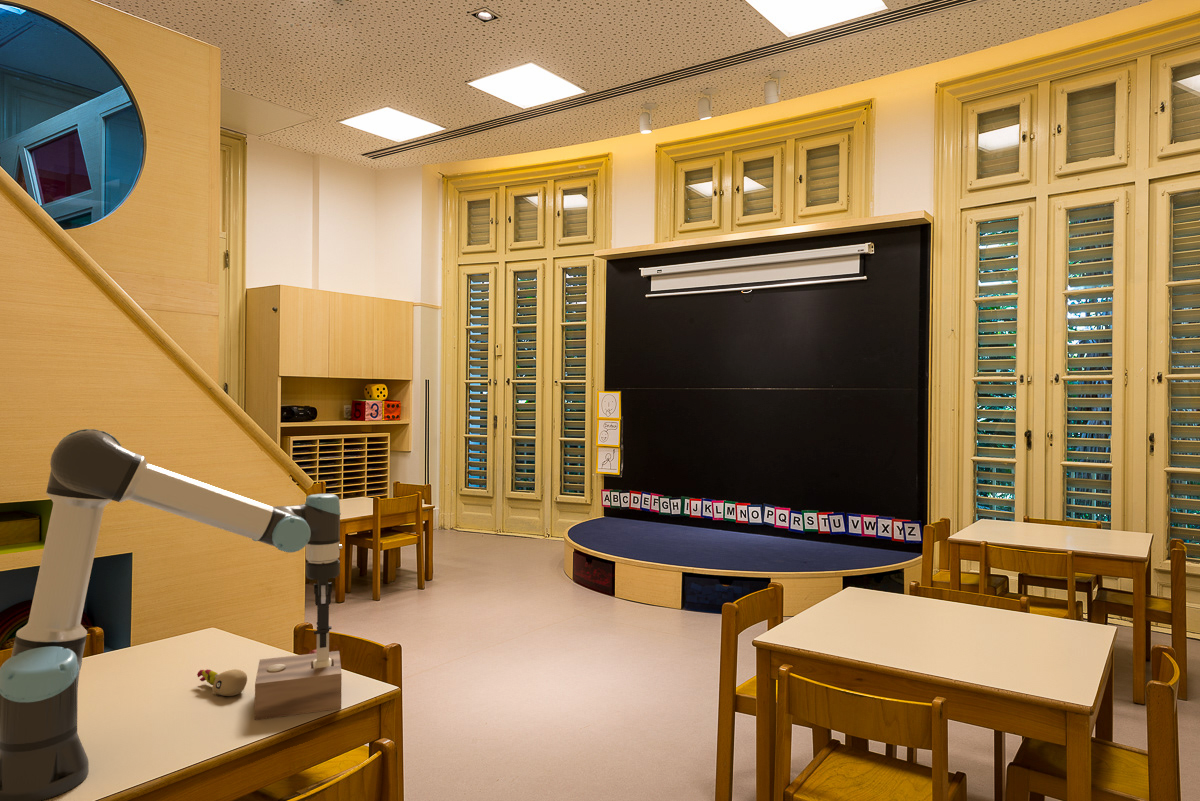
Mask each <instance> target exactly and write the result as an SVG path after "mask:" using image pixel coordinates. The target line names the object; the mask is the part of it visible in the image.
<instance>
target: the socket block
mask: <svg viewBox="0 0 1200 801" xmlns="http://www.w3.org/2000/svg"><path fill="white" fill-rule="evenodd" d="M329 658H331V666H330V667H321V668H313V661H314V660H315V659H317V653H314V654H308V653H307V654H298V655H290V656H289V655H288V656H280V657H279V656H278V657H271V658H261V659H259V660H258V666H257V672H256V678H255V681H254V721H258V720H263V719H264V720H266V719H273V718H281V717H285V716H294V715H295V716H296V715H302V714H311V713H317V712H324V711H332V710H339V709H342V681H343V680H342V678H343V677H342V676H343V675H342V664H341V655H340V650H335V651H334V650H333V651H332V652H331V651H329Z"/></svg>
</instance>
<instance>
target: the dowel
mask: <svg viewBox="0 0 1200 801" xmlns="http://www.w3.org/2000/svg"><path fill="white" fill-rule="evenodd" d="M330 666H331V658H329V660H323V661H317V659H315V660H314V661H313V668H321V667H330Z"/></svg>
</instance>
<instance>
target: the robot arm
mask: <svg viewBox="0 0 1200 801" xmlns="http://www.w3.org/2000/svg"><path fill="white" fill-rule="evenodd" d="M49 462H50V463H49V464H50V473H49V477H48V483H47V487H46V493H45V494H46V495H47V497H48V498H49V499H50V500H51V501H52V509H51V513H50V517H49V522H48V527H47V532H46V536H45V542H44V545H43V551H42V555H41V562H40V566H39V568H38V570H39V571H38V573H37V574H38V575H37V580H36V584H35V588H34V594H33V598H32V603H31V607H30V612H29V616H28V617H29V618H28V621H27V623H26V624H25V625H24V626H23V627H20V628H19V629H18V630H17V631H16V633H15V638H14V642H13V646H12V652H11V655H10V656H11V657H9V658H8V659H6V660H5V661H4V662H3V663H2V665H1V666H0V801H41V800H42V801H46V800H47V799H51V798H55V797H56V796H59V795H61V794H64V793H66V792H69V791H70V790H72V789H74V788H76V787H77V786H78V785H80V784H82V782H84V781H85V780H86V778H87V777H88V775H89V768H90V767H89V765H90V764H89V758H88V756H87V753H86V750H85V748H84V746H83V743H82V742H81V738H80V736H79V734H78V692H79V691H78V690H79V679H80V673H81V668H82V664H83V656H84V651H85V646H86V641H87V637H88V636H87V635H88V630H87V629H85V627H84V626H83V625H82V624H81V623H82V618H83V612H84V609H85V602H86V598H87V593H88V589H89V588H88V587H89V583H90V580H91V578H90V577H91V574H92V568H93V564H94V559H95V555H96V554H95V553H96V549H97V543H98V539H99V534H100V530H101V526H102V520H103V514H104V511H105V507H106V506H107V505H108V504H110V503H111V502H113V501H114V502H117V503H124V502H126V501H132V502H134V503H135V502H136V503H139V504H142V505H145V506H148V507H151V508H155V509H157V510H161V511H162V512H167V513H171V514H173V515H176V516H179V517H183V518H185V519H189V520H191V521H196V522H198V523H201V524H204V525H208V526H209V527H210V526H211V527H214V528H217V529H220V530H224V531H226V532H228V533H229V532H230V533H233V534H236V535H239V536H243V537H245V538H248V539H251V540H252V541H254V542H260V543H263V544H266V545H269V546H273V547H275V548H277V550H279V551H282V552H285V553H296V552H299V551H301V550H302V549H304V548H305V559H306V563H305V576H306V578H307V579H309V580H313V581H314V580H316V581H317V583H314V584H313V593H314V599H315V600H314V601H315V602H314V603H315V606H316V610H317V611H316V612H317V613H316V614H317V615H316V616H317V618H316V630H313V634H314V635H316V649H317V661H323V660H329V652H330V630H332V626H331V625H330V622H329V621H330V619H329V618H330V616H329V615H330V604H331V603H332V602H331V601H332V596H331V595H332V593H333V585H332V582H329V579H335V578H337V577H338V576H340V574H341V561H340V559H339V558H340V552H341V550H342V549H343V545H342V544H340V542H341V541H340V539H341V537H340V534H341V533H340V532H341V530H340V528H341V525H340V524H341V514H342V513H341V508H340V507H341V506H340V505H341V504H340V497H339V496H338V495H336V494H333V493H316V494H310V495H307V496H306V497H305V498H306V499H305V502H304V503H302V504H296V505H294V504H293V505H280V506H278V505H277V506H271V505H268V504H265V503H262V502H259V501H258V500H257V501H256V500H253V499H251V498H248V497H245V496H243V495H240V494H236V493H233V492H231V491H228V490H225V489H223V488H219V487H216V486H214V485H210V484H209V483H205V482H202V481H200V480H197V479H193V478H190V477H188V476H185V475H182V474H180V473H178V472H174V471H171V470H168V469H165V468H163V467H159V466H156V465H154V464H151V463H148V462H147V459H146V457H145V456H144V455H141V454H140V453H135V452H133V451H131V450H128V449H127V448H125V447H123V446H122V445H121V443H120V442H119V441H118V439H117V438H116V437H115V436H113V435H112V434H110V433H108V432H106V431H103V430H98V429H95V428H94V429H92V428H91V429H90V428H86V429H79V430H76V431H73V432H71V433H69V434H67V435H66V436H65V437H63V438H62V439H61V440H60V441H59V442H58V444H57V445H56V447H55V448H54V450H53V452H52V454H51V457H50V461H49ZM340 549H341V550H340Z"/></svg>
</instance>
